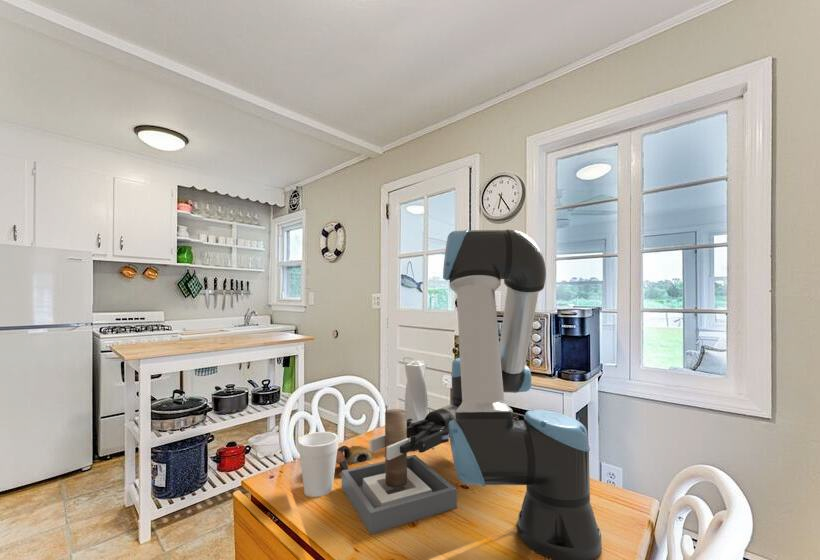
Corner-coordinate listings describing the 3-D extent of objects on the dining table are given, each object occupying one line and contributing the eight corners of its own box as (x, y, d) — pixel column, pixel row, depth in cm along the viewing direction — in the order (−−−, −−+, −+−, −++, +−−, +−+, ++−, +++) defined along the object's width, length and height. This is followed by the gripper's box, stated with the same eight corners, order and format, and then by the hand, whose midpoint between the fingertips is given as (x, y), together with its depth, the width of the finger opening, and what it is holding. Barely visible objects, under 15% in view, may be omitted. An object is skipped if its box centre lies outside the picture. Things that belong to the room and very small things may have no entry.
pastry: (342, 455, 112) (342, 442, 112) (364, 451, 115) (364, 438, 115) (351, 467, 104) (351, 453, 104) (374, 463, 106) (374, 449, 107)
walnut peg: (410, 484, 86) (410, 413, 86) (390, 489, 83) (390, 417, 84) (401, 475, 90) (401, 407, 91) (382, 479, 88) (381, 410, 88)
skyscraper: (407, 452, 113) (407, 359, 114) (400, 442, 120) (400, 355, 122) (434, 449, 115) (433, 357, 116) (425, 439, 123) (424, 354, 124)
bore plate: (431, 503, 83) (431, 489, 84) (381, 517, 78) (381, 503, 78) (408, 479, 94) (407, 467, 94) (362, 491, 89) (362, 478, 89)
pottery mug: (337, 490, 92) (321, 461, 93) (314, 497, 97) (298, 469, 97) (364, 459, 103) (349, 433, 103) (342, 467, 107) (328, 441, 108)
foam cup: (290, 493, 90) (291, 438, 90) (324, 480, 96) (324, 429, 97) (311, 509, 83) (311, 450, 84) (345, 493, 90) (345, 438, 90)
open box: (456, 512, 82) (456, 488, 82) (370, 539, 73) (370, 513, 73) (414, 473, 99) (414, 454, 100) (341, 491, 91) (341, 470, 91)
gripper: (472, 446, 94) (408, 480, 77) (419, 428, 106) (353, 455, 89) (472, 416, 94) (408, 443, 77) (418, 402, 106) (353, 423, 89)
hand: (379, 449), depth 83 cm, fingers closed on walnut peg, 5 cm apart
